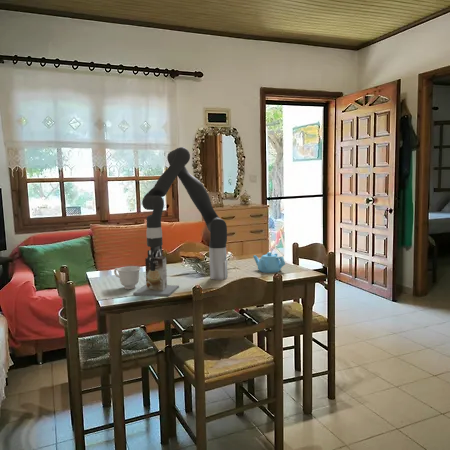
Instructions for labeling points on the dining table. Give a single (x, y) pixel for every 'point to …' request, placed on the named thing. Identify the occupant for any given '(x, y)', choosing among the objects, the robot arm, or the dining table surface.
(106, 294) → the dining table surface
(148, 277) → the coffee box
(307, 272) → the dining table surface
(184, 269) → the dining table surface
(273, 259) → the teapot
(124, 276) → the teacup
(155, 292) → the mat
